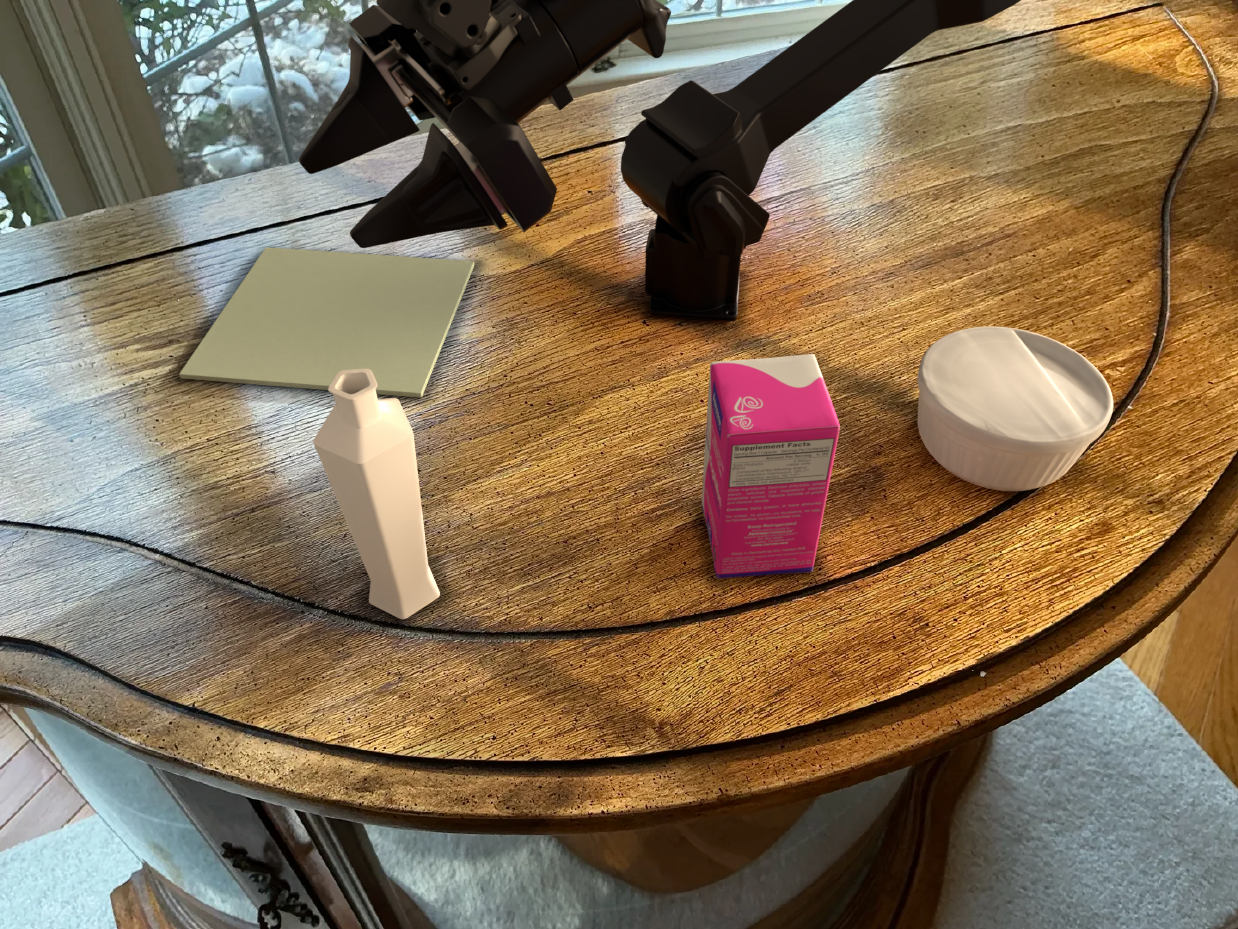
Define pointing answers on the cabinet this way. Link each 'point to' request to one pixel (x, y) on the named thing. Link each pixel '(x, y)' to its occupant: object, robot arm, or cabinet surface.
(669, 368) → the cabinet surface
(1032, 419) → the ramekin
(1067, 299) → the cabinet surface
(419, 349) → the mat
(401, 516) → the beige vase
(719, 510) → the supplement box
